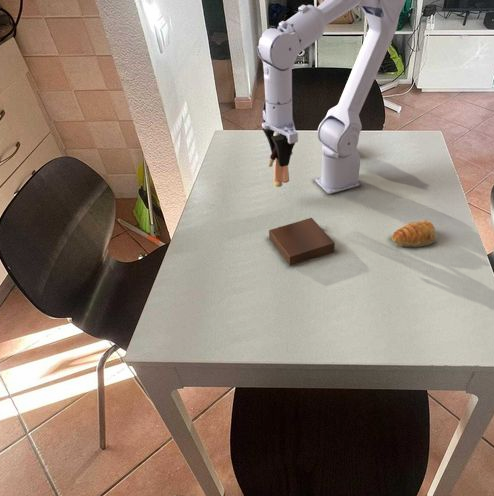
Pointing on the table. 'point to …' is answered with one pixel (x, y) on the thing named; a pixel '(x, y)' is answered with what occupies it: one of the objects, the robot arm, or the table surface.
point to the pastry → (415, 234)
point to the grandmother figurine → (278, 168)
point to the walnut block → (301, 241)
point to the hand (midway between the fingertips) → (281, 162)
